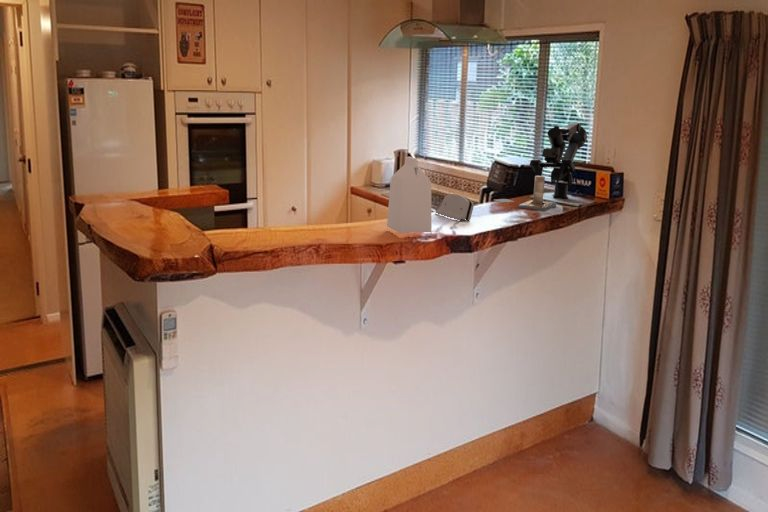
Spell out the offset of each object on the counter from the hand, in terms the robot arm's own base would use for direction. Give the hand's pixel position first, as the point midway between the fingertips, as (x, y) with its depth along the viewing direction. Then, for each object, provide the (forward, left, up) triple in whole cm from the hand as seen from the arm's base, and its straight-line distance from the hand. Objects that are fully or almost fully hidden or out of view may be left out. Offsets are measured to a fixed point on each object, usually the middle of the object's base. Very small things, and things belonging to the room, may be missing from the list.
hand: (546, 181), depth 294 cm
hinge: (+40, -37, -10) cm, 55 cm away
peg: (+8, -4, -10) cm, 13 cm away
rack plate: (+8, -4, -10) cm, 13 cm away
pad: (-2, -18, -10) cm, 20 cm away
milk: (+72, -51, -10) cm, 89 cm away
